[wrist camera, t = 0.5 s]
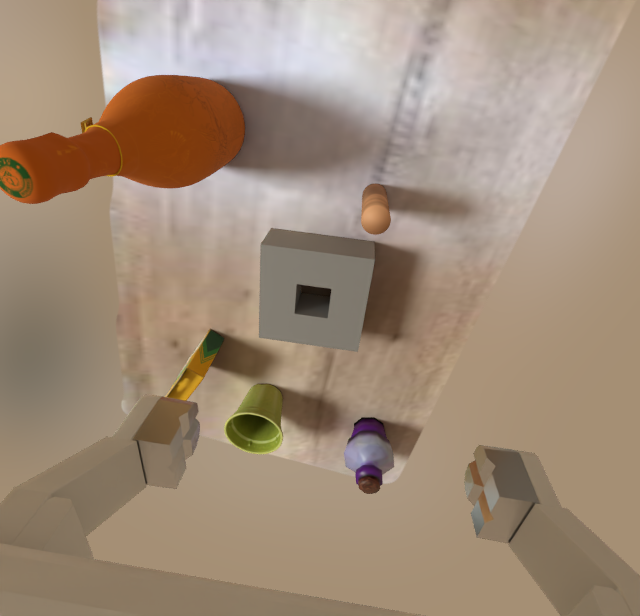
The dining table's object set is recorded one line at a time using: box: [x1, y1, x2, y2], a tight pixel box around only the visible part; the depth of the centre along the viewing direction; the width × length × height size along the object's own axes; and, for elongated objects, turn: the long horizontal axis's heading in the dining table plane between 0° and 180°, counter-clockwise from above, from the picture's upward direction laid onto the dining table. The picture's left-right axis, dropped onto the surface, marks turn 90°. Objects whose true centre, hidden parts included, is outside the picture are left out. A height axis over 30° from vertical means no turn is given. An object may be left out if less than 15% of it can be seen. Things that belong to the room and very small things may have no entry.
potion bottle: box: [344, 418, 394, 494], centre depth 64 cm, size 9×9×12 cm
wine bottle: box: [0, 75, 245, 204], centre depth 33 cm, size 10×10×30 cm
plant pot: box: [224, 384, 283, 454], centre depth 64 cm, size 9×9×9 cm
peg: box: [361, 184, 391, 234], centre depth 44 cm, size 3×3×10 cm
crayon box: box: [165, 330, 224, 401], centre depth 59 cm, size 7×3×12 cm, turn 143°
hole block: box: [259, 228, 375, 352], centre depth 53 cm, size 14×14×6 cm
